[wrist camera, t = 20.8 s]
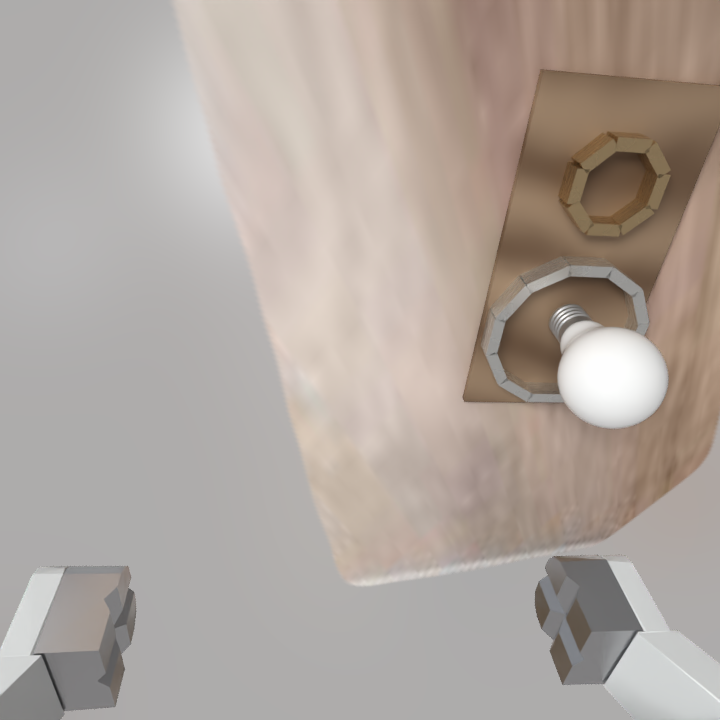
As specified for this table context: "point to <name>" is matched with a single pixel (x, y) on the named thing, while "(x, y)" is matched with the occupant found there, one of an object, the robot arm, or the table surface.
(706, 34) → the table surface
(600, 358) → the lightbulb
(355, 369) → the table surface
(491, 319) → the socket board
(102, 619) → the robot arm
